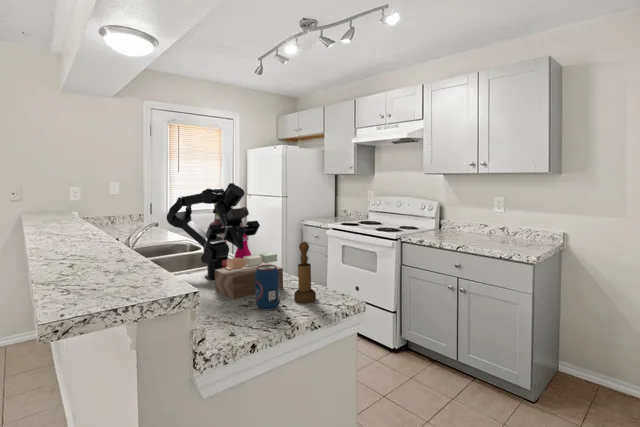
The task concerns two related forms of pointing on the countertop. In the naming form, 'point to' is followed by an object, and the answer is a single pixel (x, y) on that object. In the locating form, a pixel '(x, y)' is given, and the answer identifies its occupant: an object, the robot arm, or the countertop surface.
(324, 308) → the countertop surface
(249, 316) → the countertop surface
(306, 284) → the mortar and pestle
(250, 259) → the cream key
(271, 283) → the soda can
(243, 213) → the robot arm
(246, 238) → the pepper mill
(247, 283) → the keypad console
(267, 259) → the sage key
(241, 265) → the terracotta key
